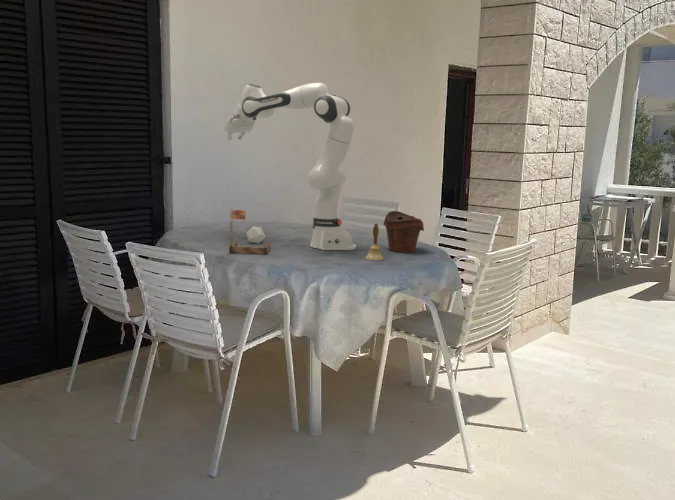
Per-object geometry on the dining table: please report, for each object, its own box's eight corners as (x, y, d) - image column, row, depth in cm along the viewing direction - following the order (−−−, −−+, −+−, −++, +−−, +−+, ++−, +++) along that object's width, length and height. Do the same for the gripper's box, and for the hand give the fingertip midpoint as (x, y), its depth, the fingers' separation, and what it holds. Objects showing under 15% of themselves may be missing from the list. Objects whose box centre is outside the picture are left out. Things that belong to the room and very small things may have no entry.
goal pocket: (270, 248, 318) (271, 206, 314) (266, 254, 303) (267, 210, 299) (234, 246, 318) (234, 204, 314) (229, 253, 302) (229, 209, 299)
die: (268, 243, 332) (262, 226, 336) (265, 238, 324) (259, 220, 327) (252, 249, 332) (246, 232, 335) (249, 243, 324) (243, 226, 327)
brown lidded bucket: (418, 255, 314) (420, 217, 311) (377, 250, 321) (379, 213, 318) (426, 249, 331) (429, 212, 328) (387, 245, 338) (389, 209, 334)
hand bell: (386, 260, 300) (388, 225, 297) (369, 260, 297) (371, 225, 294) (379, 256, 308) (380, 222, 305) (362, 257, 305) (363, 222, 302)
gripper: (237, 117, 327) (227, 143, 332) (259, 117, 346) (249, 141, 351) (227, 111, 329) (217, 137, 334) (249, 112, 347) (240, 136, 352)
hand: (234, 139), depth 343 cm, fingers open, 8 cm apart
